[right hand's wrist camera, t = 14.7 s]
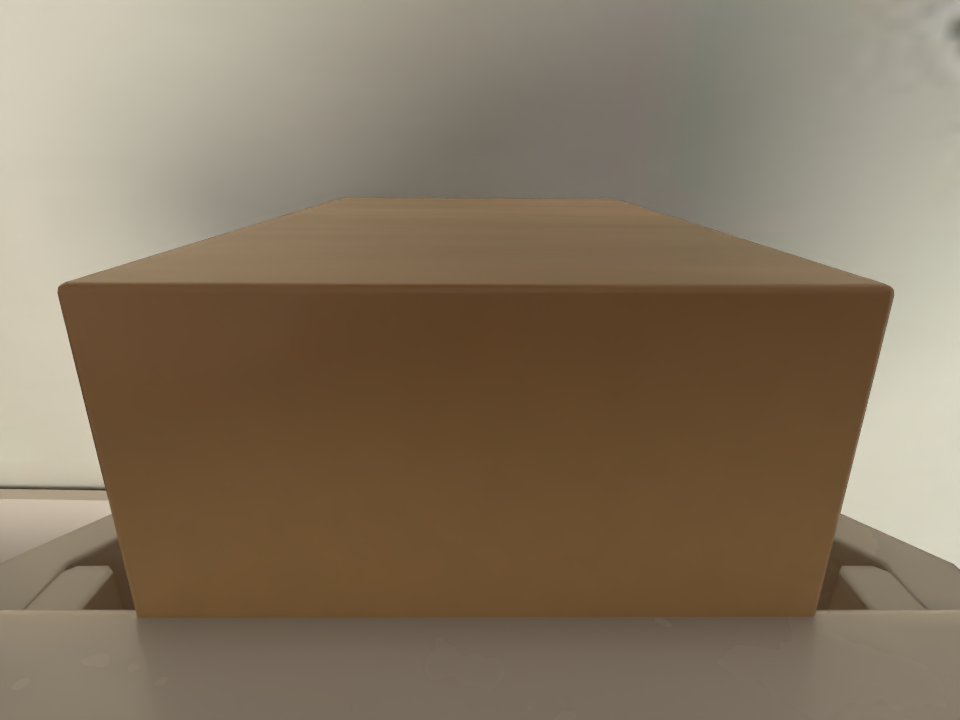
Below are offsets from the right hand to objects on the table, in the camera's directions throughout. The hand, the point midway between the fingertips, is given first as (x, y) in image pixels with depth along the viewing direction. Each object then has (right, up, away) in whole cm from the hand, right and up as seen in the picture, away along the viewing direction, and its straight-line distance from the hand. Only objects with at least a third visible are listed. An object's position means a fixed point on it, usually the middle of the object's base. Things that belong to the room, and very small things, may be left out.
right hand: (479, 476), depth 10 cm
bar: (0, -8, +6) cm, 10 cm away
